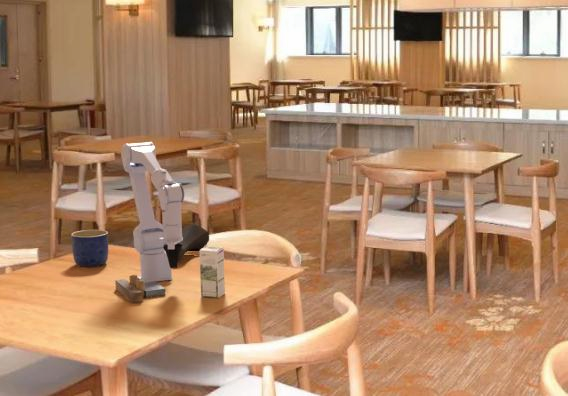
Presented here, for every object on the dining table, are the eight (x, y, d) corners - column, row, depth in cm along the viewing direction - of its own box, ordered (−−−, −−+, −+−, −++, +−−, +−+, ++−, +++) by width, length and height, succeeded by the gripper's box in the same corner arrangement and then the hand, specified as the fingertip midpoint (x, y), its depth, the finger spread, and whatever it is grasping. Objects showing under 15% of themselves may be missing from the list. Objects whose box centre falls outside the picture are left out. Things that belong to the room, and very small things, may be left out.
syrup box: (225, 293, 302) (224, 246, 300) (218, 298, 297) (216, 250, 295) (208, 292, 304) (206, 245, 302) (200, 297, 299) (198, 249, 296)
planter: (65, 264, 345) (64, 233, 343) (96, 258, 353) (95, 228, 351) (85, 270, 336) (83, 238, 334) (116, 264, 344) (115, 232, 342)
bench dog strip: (132, 287, 312) (132, 271, 311) (150, 300, 296) (149, 284, 295) (115, 289, 309) (115, 273, 309) (132, 303, 293) (131, 286, 293)
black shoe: (192, 252, 370) (168, 279, 344) (177, 227, 369) (152, 253, 343) (216, 239, 367) (194, 265, 341) (201, 214, 365) (178, 239, 339)
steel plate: (155, 289, 311) (155, 281, 310) (165, 296, 302) (165, 288, 301) (136, 291, 308) (136, 283, 308) (146, 299, 299) (145, 291, 299)
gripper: (161, 219, 312) (162, 262, 314) (156, 228, 297) (158, 273, 300) (183, 219, 312) (185, 261, 314) (180, 228, 298) (182, 273, 300)
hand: (173, 267), depth 307 cm, fingers closed
